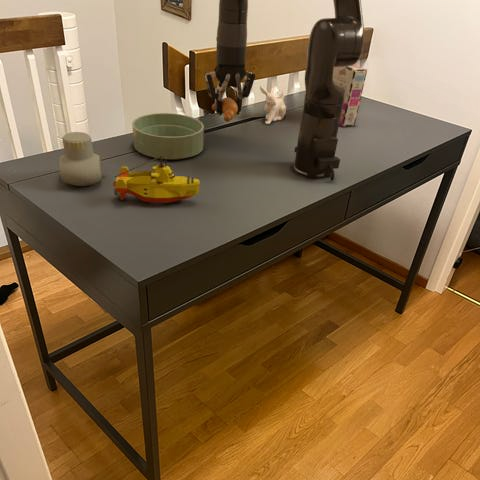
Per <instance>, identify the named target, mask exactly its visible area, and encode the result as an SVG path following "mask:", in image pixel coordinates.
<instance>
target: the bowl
mask: <svg viewBox="0 0 480 480" xmlns="http://www.w3.org/2000/svg"><path fill="white" fill-rule="evenodd" d="M131 123H132V124H131V125H132V140H133V148H134V149H135V150H136V151H137V152H139V153H140V154H142V155H144V156H147V157H149V158H150V157H151V158H153V159H155V158H157V157H160V156H162V160H183V159H187V158H191V157H194V156H197V155H199V154H200V153H201V152H202V151H203V150H204V148H205V126H204V123H203V122H202V121H201V120H199V119H197V118H195V117H192V116H189V115H186V114H179V113H173V112H172V113H169V112H161V113H150V114H143V115H142V116H138V117H137V118H135V119H134V120H133V121H132V122H131Z"/></svg>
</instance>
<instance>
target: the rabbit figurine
mask: <svg viewBox="0 0 480 480" xmlns="http://www.w3.org/2000/svg"><path fill="white" fill-rule="evenodd" d="M274 86H275V85H274V83H272V84H271V88H270V92H268V91H267V89H265V88H264V87H263V86H262V85H261V84H260V85H259V90H260V92H261V94H264V95H265V96H266V98H265V104H264V107H263V109H264V112H265V113H266V114H265V120H264V123H265V124H267V125H270V124H271V122H276V121H282V120H283V119H284V118H285V115H286V114H287V106H286V105H285V101H284V99H285V94H284V91H283V90H281V92H280V91H278V90H277V91H276V94H277V95H279V97H277V96H276V95H275V94H274V93H275V87H274Z"/></svg>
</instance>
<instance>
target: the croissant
mask: <svg viewBox="0 0 480 480" xmlns="http://www.w3.org/2000/svg"><path fill="white" fill-rule="evenodd" d="M222 101H223V105H222V115H223V121H225V122H227V123H229V122H230V121H232V120H233V119H234V117H235V116H236V115H237V114H236V113H237V111H238V106H237V104H236V102H235V99H232V98H231V97H223V98H222ZM211 105H212V106H211V109H212V110H213V111H214V112H216V111H215V103H213V104H211Z"/></svg>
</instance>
